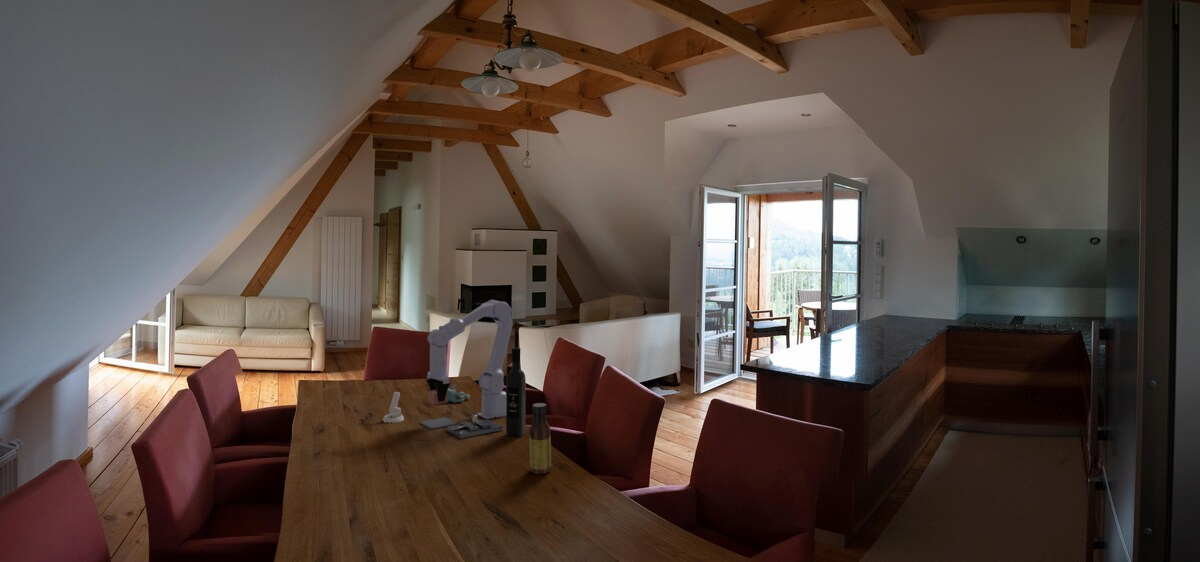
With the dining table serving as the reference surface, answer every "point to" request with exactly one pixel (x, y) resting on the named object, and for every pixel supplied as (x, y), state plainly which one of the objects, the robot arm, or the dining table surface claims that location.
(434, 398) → the collar block
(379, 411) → the dining table surface
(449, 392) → the stuffed animal
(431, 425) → the mat
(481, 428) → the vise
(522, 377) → the wine bottle
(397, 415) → the hook
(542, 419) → the sauce bottle
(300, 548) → the dining table surface
